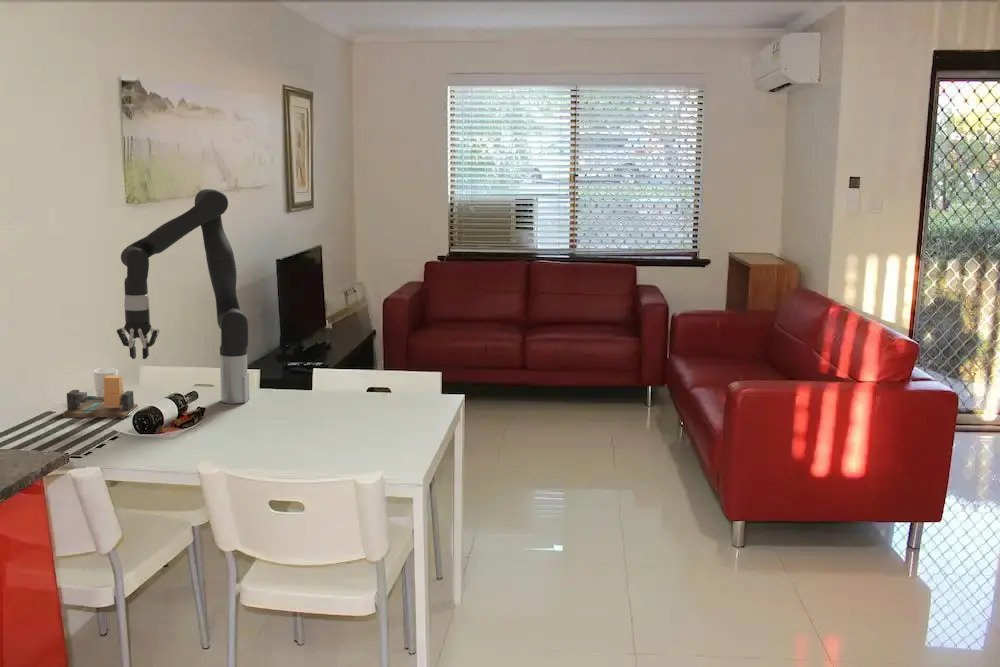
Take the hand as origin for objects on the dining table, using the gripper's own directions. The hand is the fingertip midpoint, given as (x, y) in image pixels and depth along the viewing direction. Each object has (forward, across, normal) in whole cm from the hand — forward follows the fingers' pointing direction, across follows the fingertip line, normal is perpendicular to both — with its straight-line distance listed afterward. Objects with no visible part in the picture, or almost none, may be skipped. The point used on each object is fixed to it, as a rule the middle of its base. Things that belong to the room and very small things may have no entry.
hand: (139, 358), depth 300 cm
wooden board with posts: (+19, +14, 0) cm, 23 cm away
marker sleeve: (+16, +9, 0) cm, 19 cm away
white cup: (+19, +18, -18) cm, 32 cm away
